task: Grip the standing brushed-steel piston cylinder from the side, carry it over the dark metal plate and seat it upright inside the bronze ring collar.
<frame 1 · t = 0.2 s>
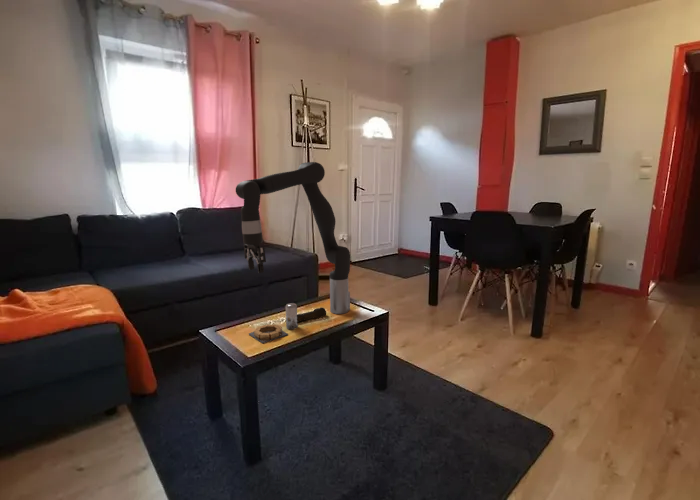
hand: (256, 270, 148), 29 cm above the table, tool pointing down, fingers open, 8 cm apart
piston: (292, 327, 163), on the table
ring plate: (268, 334, 155), on the table
hand tool: (307, 319, 172), on the table
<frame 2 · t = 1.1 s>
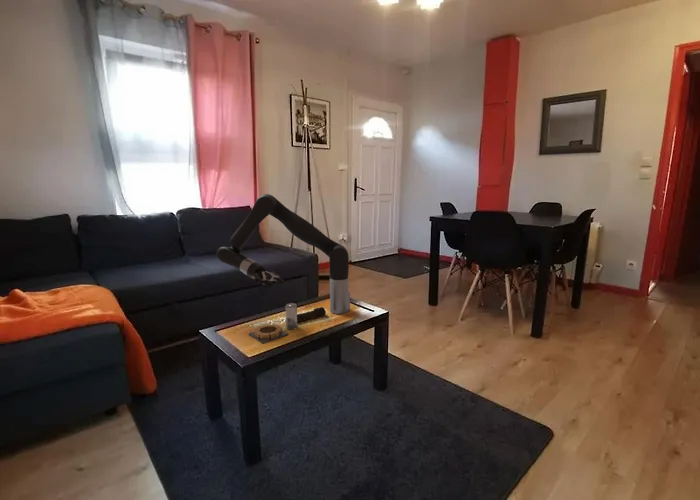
hand: (278, 284, 164), 19 cm above the table, tool tilted 70°, fingers open, 8 cm apart
nothing on the table moved.
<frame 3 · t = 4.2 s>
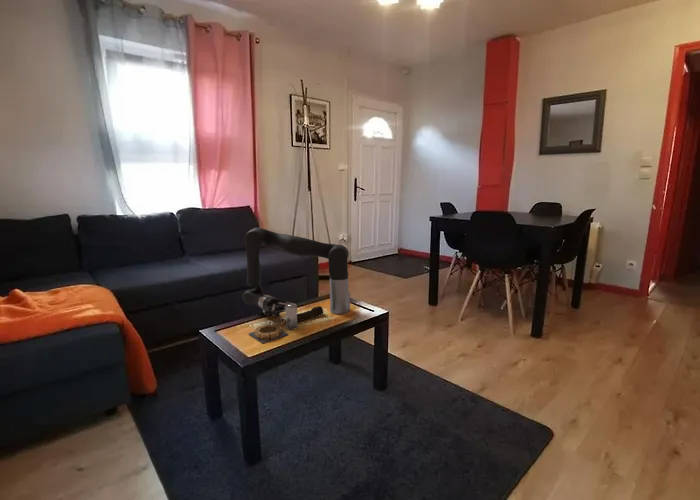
hand: (287, 312, 164), 6 cm above the table, tool horizontal, fingers open, 8 cm apart
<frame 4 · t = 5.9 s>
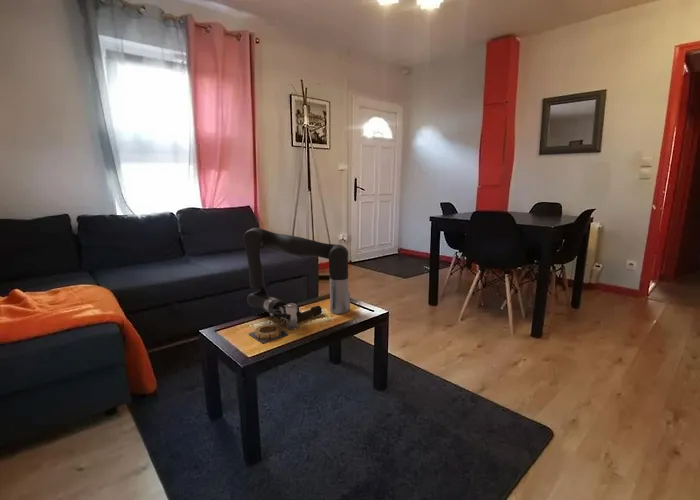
hand: (294, 315, 160), 6 cm above the table, tool horizontal, fingers closed on piston, 5 cm apart
piston: (292, 327, 163), on the table, touching gripper
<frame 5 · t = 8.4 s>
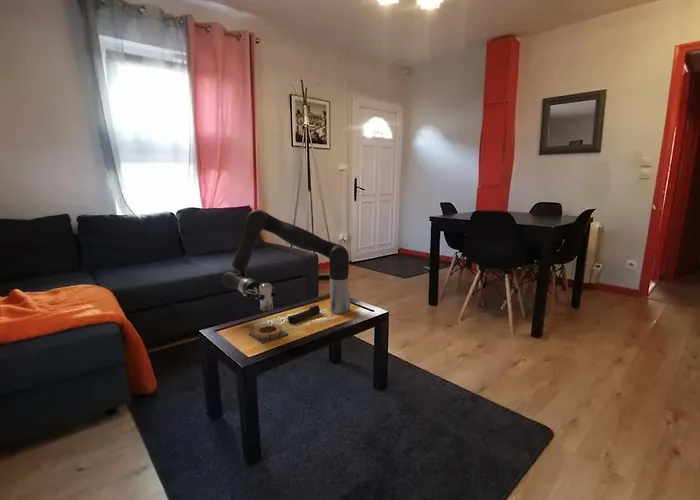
hand: (269, 296, 150), 18 cm above the table, tool horizontal, fingers closed on piston, 5 cm apart
piston: (266, 308, 153), point 12 cm above the table, touching gripper
when the fingers open (8 cm above the table, at t = 11.1 s): piston drops 1 cm, resting on ring plate.
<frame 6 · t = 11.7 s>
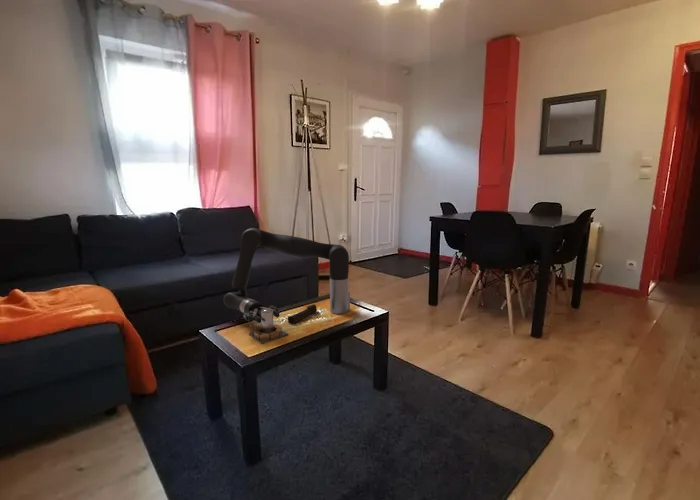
hand: (269, 317, 152), 8 cm above the table, tool horizontal, fingers open, 8 cm apart
piston: (268, 333, 155), point 1 cm above the table, touching ring plate
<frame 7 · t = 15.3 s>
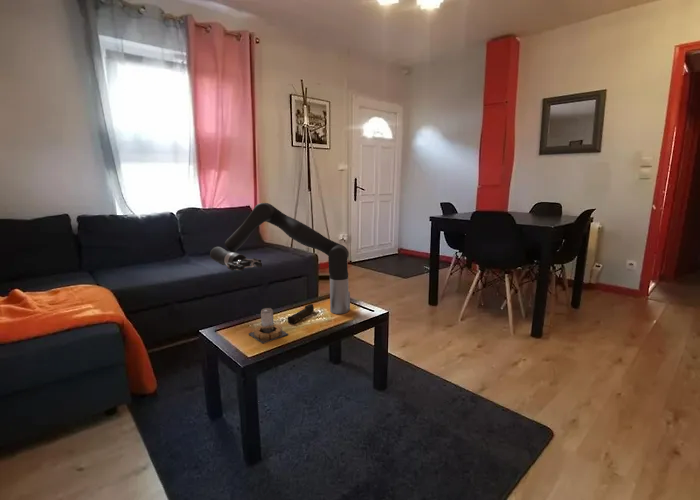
hand: (252, 266, 158), 28 cm above the table, tool horizontal, fingers open, 8 cm apart
at the end: piston 0.1 cm from the ring plate (horizontally); piston tilted 1°; piston point 0.7 cm above the table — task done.
